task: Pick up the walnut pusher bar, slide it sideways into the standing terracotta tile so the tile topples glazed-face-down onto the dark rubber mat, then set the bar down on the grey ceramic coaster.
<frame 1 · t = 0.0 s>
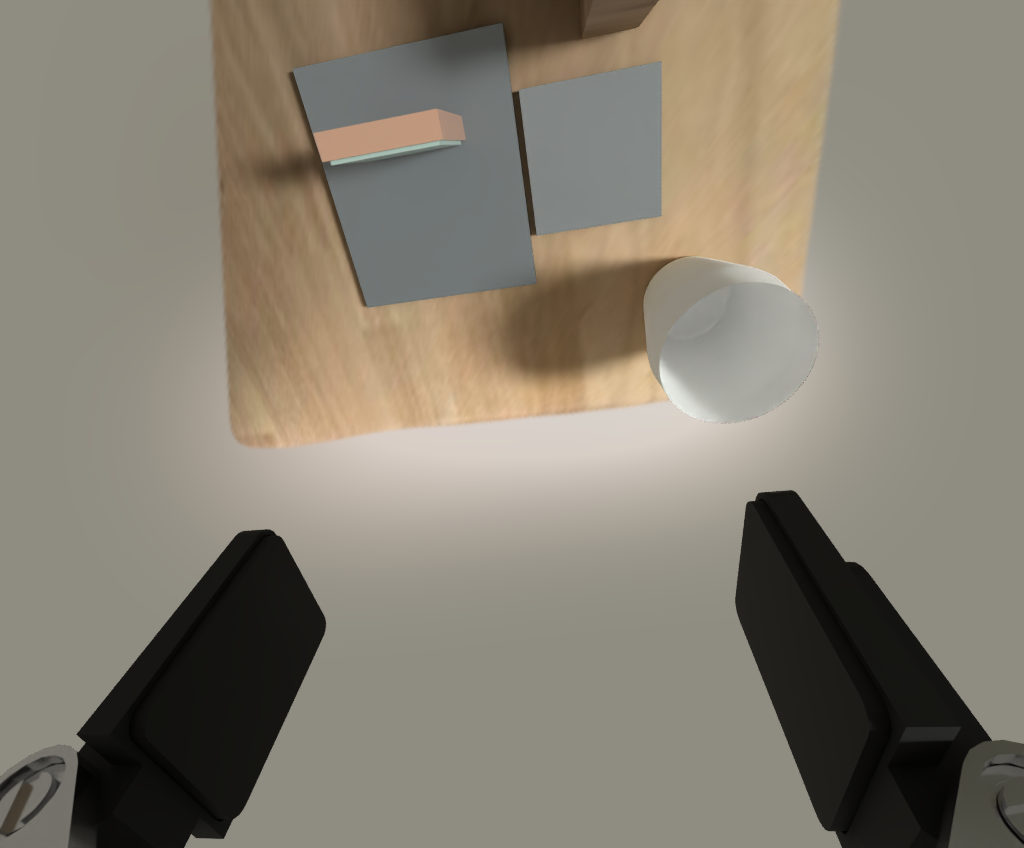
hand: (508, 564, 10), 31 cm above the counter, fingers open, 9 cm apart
cup: (685, 298, 38), on the counter
coaster: (592, 155, 33), on the counter
tile: (414, 137, 32), point 1 cm above the counter, touching mat
mat: (426, 185, 34), on the counter
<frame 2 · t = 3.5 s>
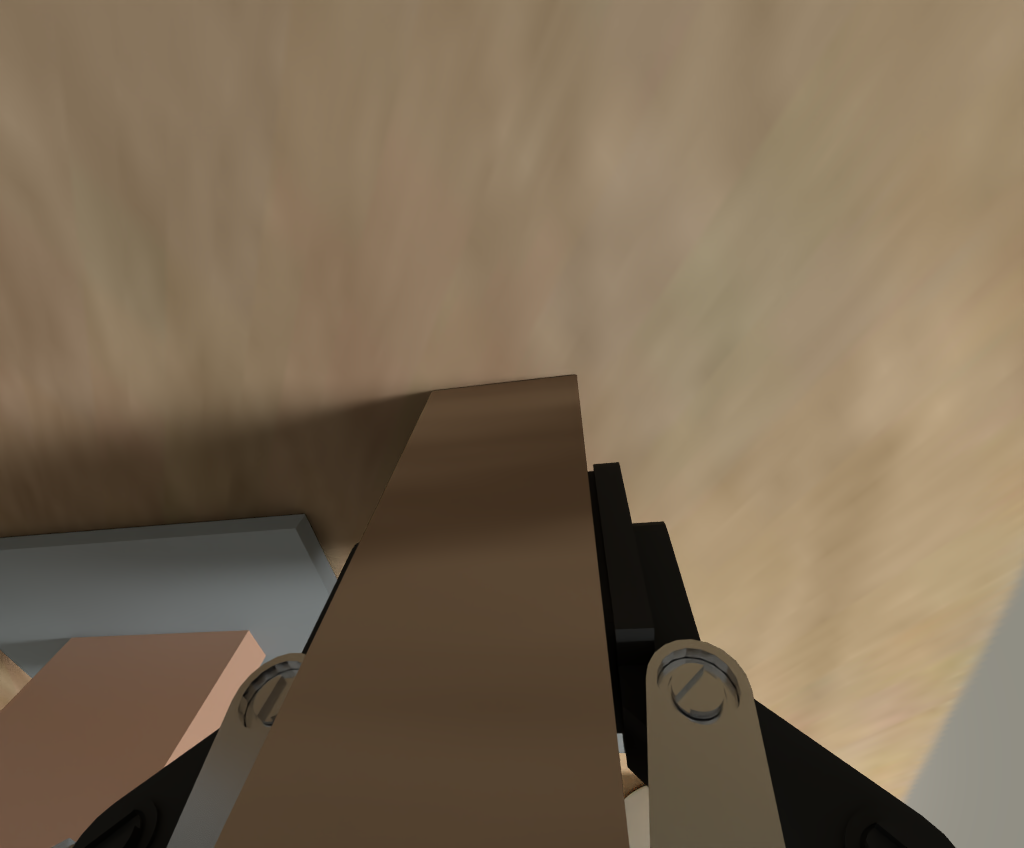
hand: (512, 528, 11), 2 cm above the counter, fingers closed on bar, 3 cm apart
cup: (689, 804, 22), on the counter
bar: (518, 467, 12), on the counter, touching gripper
tile: (167, 646, 17), point 1 cm above the counter, touching mat
mat: (217, 679, 19), on the counter
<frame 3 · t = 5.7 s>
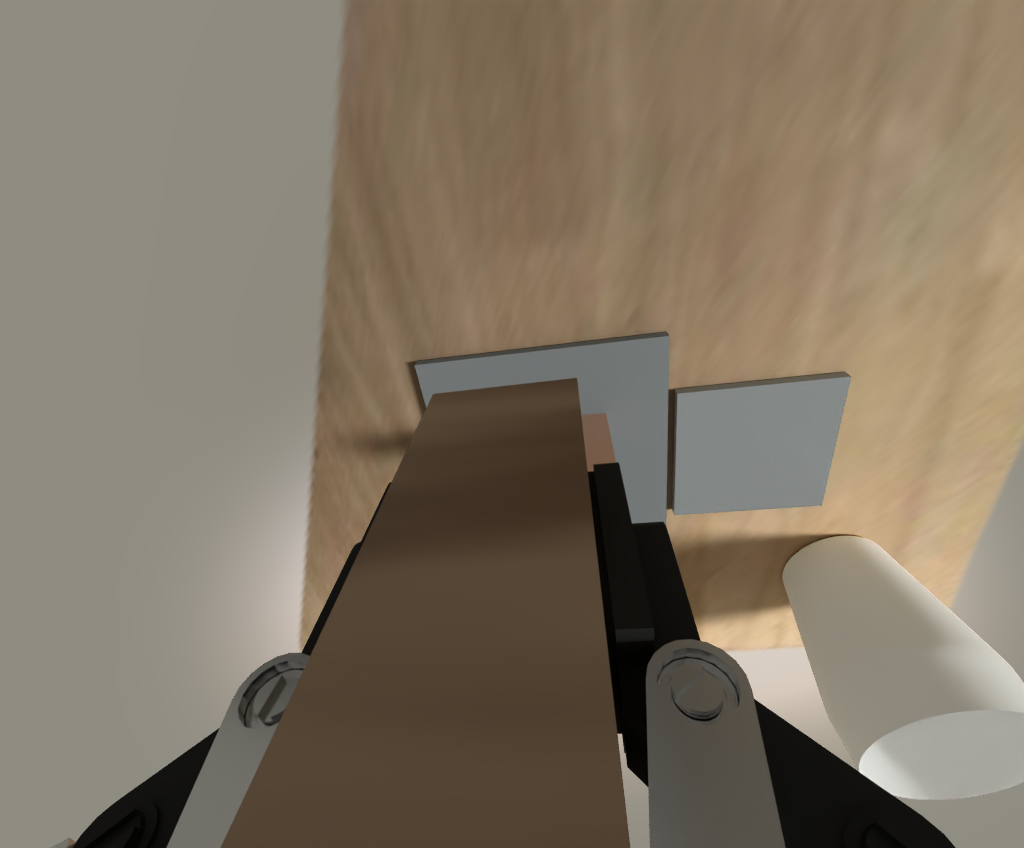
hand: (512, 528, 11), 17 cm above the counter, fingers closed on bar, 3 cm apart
cup: (830, 566, 33), on the counter
coaster: (750, 447, 29), on the counter
bar: (519, 470, 13), point 15 cm above the counter, touching gripper
tile: (547, 428, 28), point 1 cm above the counter, touching mat
mat: (552, 463, 30), on the counter
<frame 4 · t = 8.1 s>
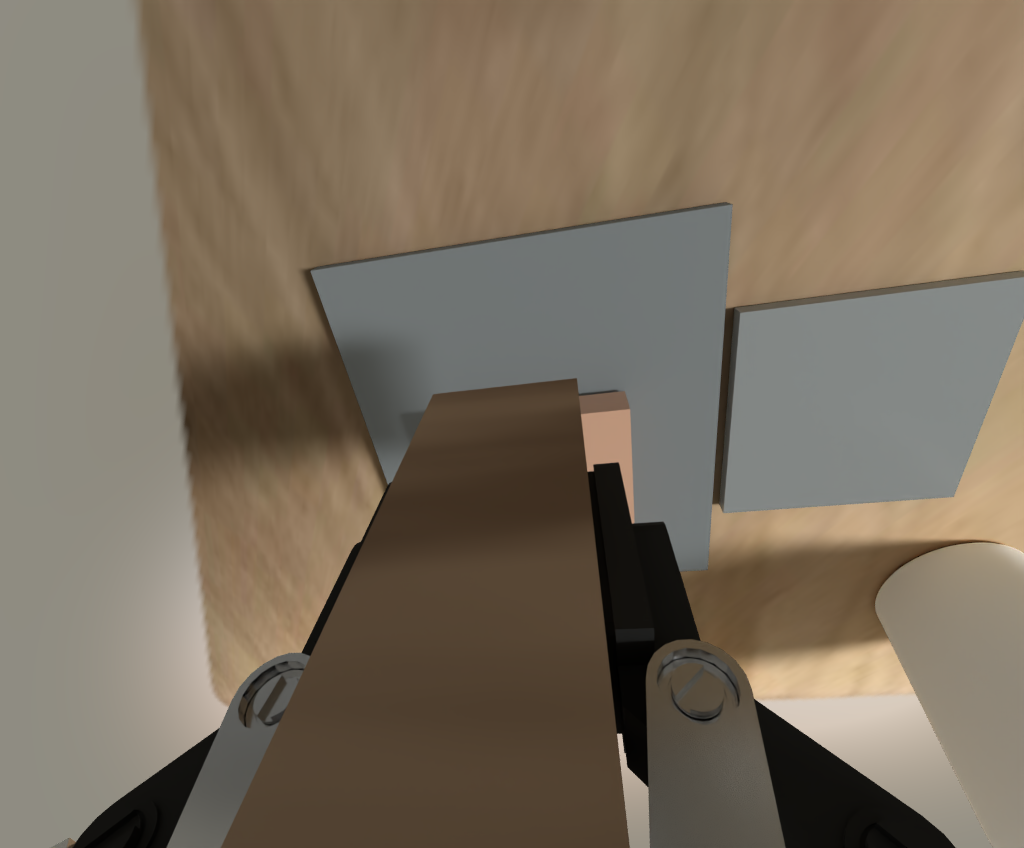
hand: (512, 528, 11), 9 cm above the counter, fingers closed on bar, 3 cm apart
cup: (946, 586, 23), on the counter
coaster: (847, 405, 18), on the counter
bar: (518, 470, 13), point 7 cm above the counter, touching gripper
tile: (531, 409, 18), point 2 cm above the counter, tilted 90°, touching mat
mat: (539, 435, 20), on the counter
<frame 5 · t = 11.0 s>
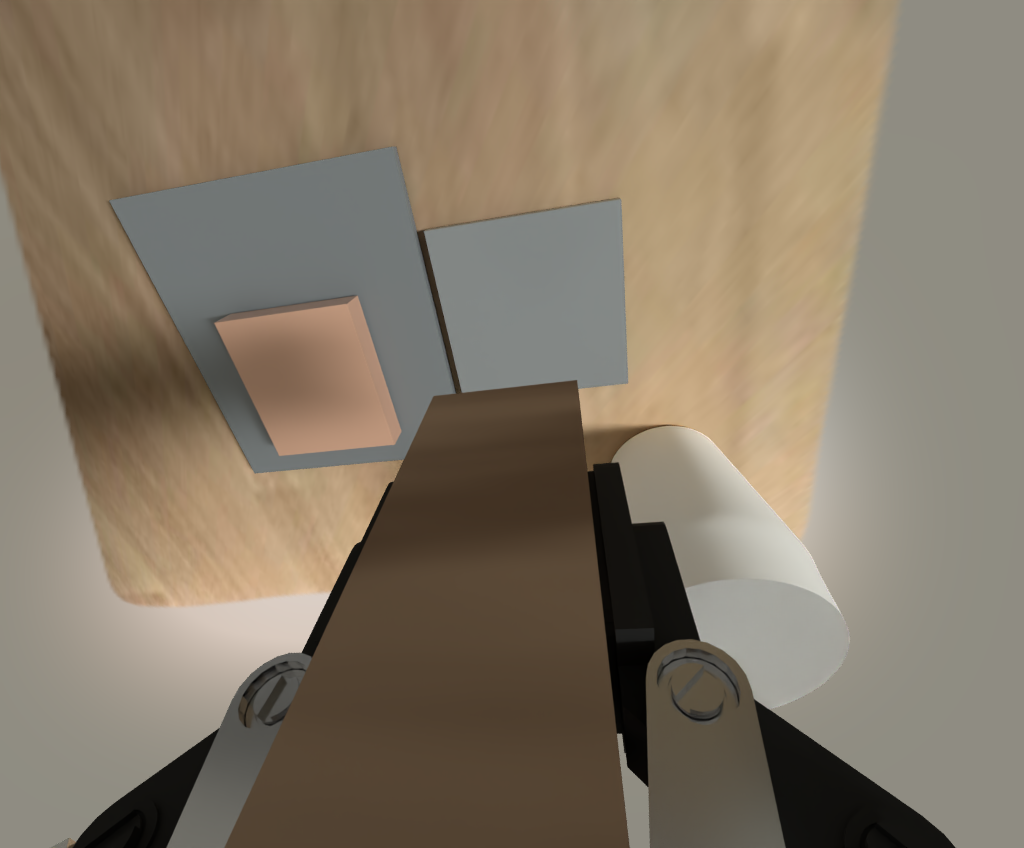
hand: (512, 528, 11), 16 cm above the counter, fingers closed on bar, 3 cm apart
cup: (663, 469, 29), on the counter
coaster: (533, 308, 24), on the counter
bar: (519, 472, 13), point 14 cm above the counter, touching gripper
tile: (286, 309, 23), point 2 cm above the counter, tilted 90°, touching mat
mat: (314, 338, 26), on the counter
when the fingers open (4 cm above the counter, at t = 13.3 s): bar stays where it is, resting on coaster.
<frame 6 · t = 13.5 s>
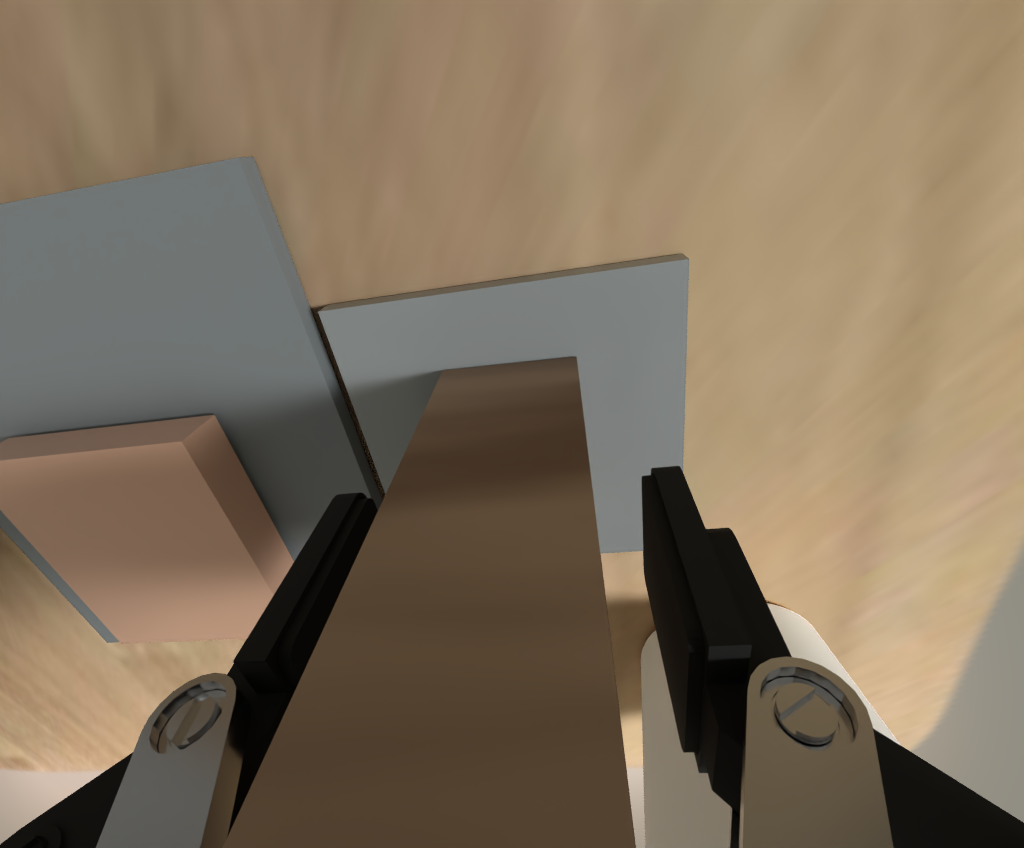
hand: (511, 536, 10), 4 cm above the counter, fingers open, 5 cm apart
cup: (724, 648, 19), on the counter
coaster: (521, 433, 14), on the counter
bar: (521, 443, 13), point 1 cm above the counter, touching coaster
tile: (88, 439, 13), point 2 cm above the counter, tilted 90°, touching mat
mat: (164, 468, 16), on the counter
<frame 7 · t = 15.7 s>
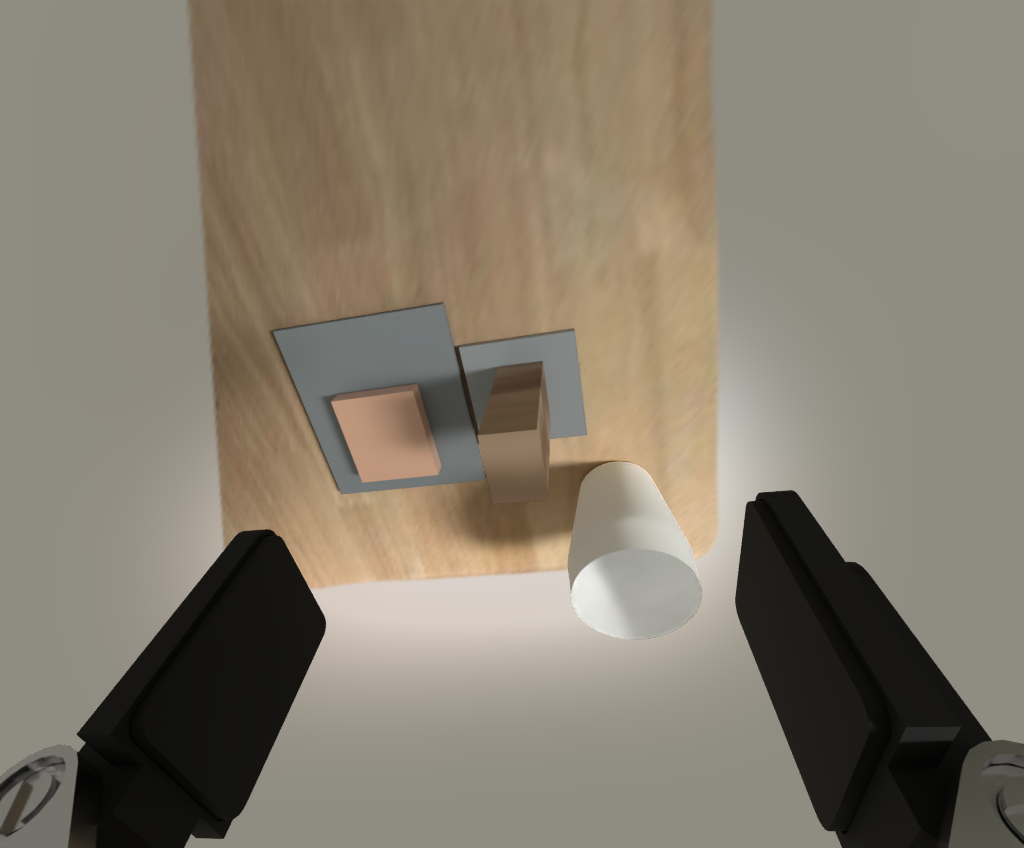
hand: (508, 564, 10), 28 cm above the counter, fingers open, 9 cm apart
cup: (616, 489, 43), on the counter
coaster: (525, 389, 39), on the counter
bar: (525, 392, 38), point 1 cm above the counter, touching coaster
tile: (374, 392, 38), point 2 cm above the counter, tilted 90°, touching mat
mat: (387, 407, 41), on the counter
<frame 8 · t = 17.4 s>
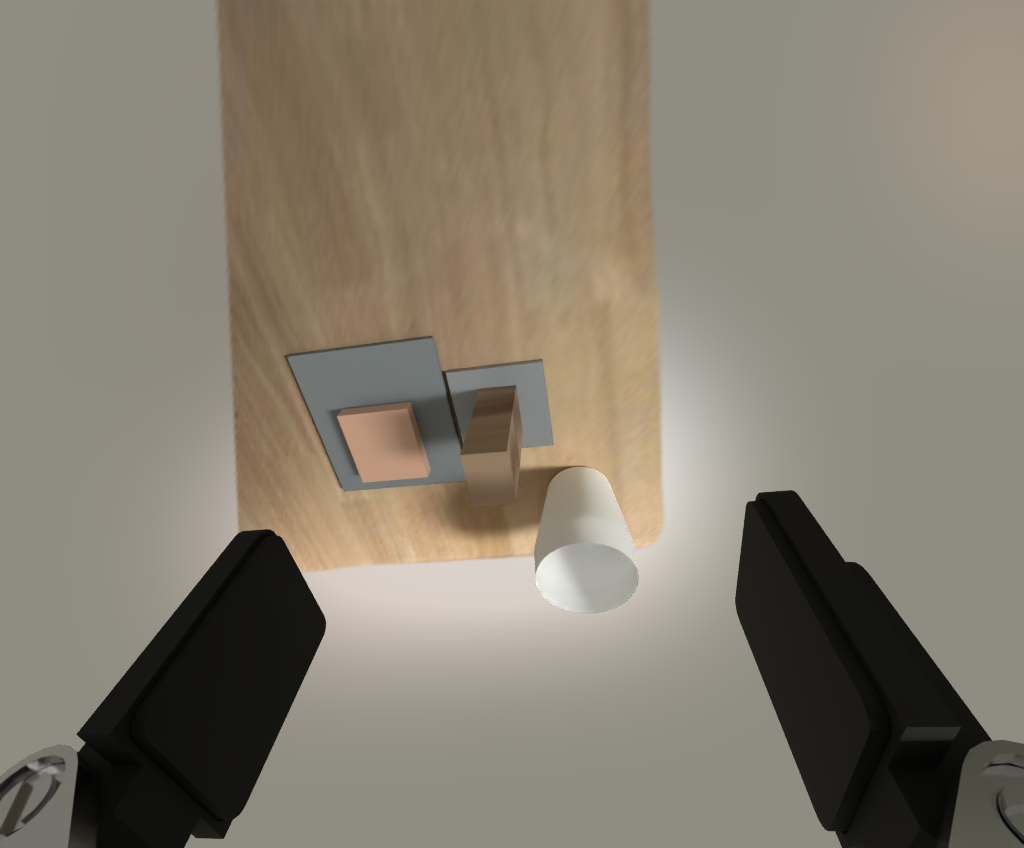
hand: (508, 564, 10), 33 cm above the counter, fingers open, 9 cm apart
cup: (578, 489, 51), on the counter
coaster: (502, 407, 46), on the counter
bar: (501, 410, 45), point 1 cm above the counter, touching coaster
tile: (373, 408, 45), point 2 cm above the counter, tilted 90°, touching mat
mat: (384, 419, 48), on the counter
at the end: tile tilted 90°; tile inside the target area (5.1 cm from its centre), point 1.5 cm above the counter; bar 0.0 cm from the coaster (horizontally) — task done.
